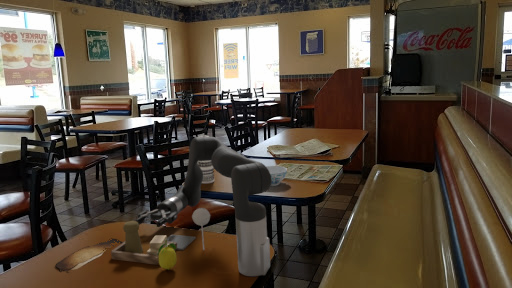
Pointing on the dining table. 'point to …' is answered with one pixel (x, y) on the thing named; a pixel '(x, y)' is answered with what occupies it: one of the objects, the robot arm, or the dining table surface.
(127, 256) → the frame
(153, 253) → the offcut lower
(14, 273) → the dining table surface
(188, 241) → the pad
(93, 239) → the dining table surface
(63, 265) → the parchment
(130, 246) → the cork
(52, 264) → the dining table surface
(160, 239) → the offcut upper
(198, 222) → the lollipop
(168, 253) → the lemon
